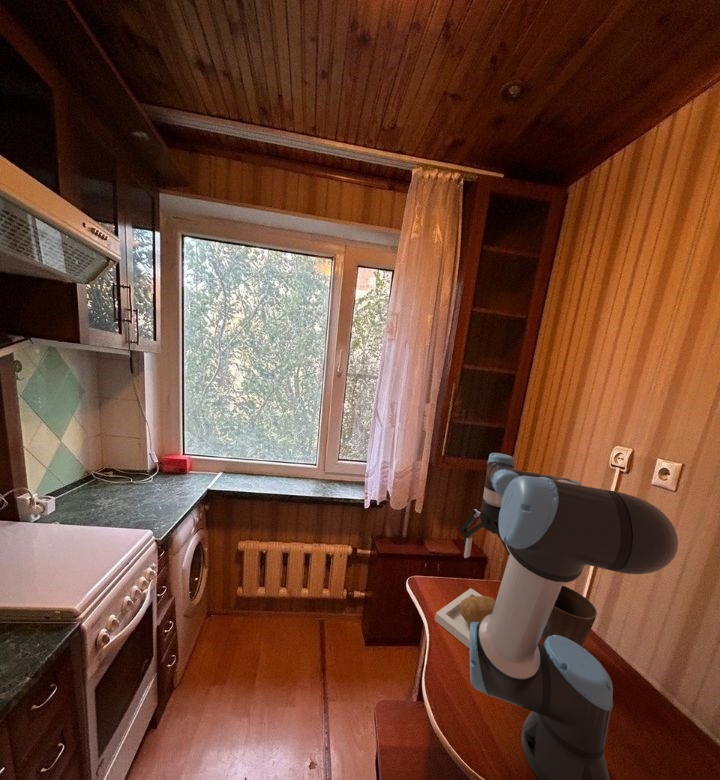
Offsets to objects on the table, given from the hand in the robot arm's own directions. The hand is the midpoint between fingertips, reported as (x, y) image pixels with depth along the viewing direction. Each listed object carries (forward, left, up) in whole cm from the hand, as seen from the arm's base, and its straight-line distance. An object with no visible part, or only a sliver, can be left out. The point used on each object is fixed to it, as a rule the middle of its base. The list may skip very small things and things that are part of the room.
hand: (486, 567), depth 97 cm
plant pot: (+13, -19, -19) cm, 30 cm away
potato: (0, 0, -19) cm, 19 cm away
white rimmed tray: (0, 0, -19) cm, 19 cm away
